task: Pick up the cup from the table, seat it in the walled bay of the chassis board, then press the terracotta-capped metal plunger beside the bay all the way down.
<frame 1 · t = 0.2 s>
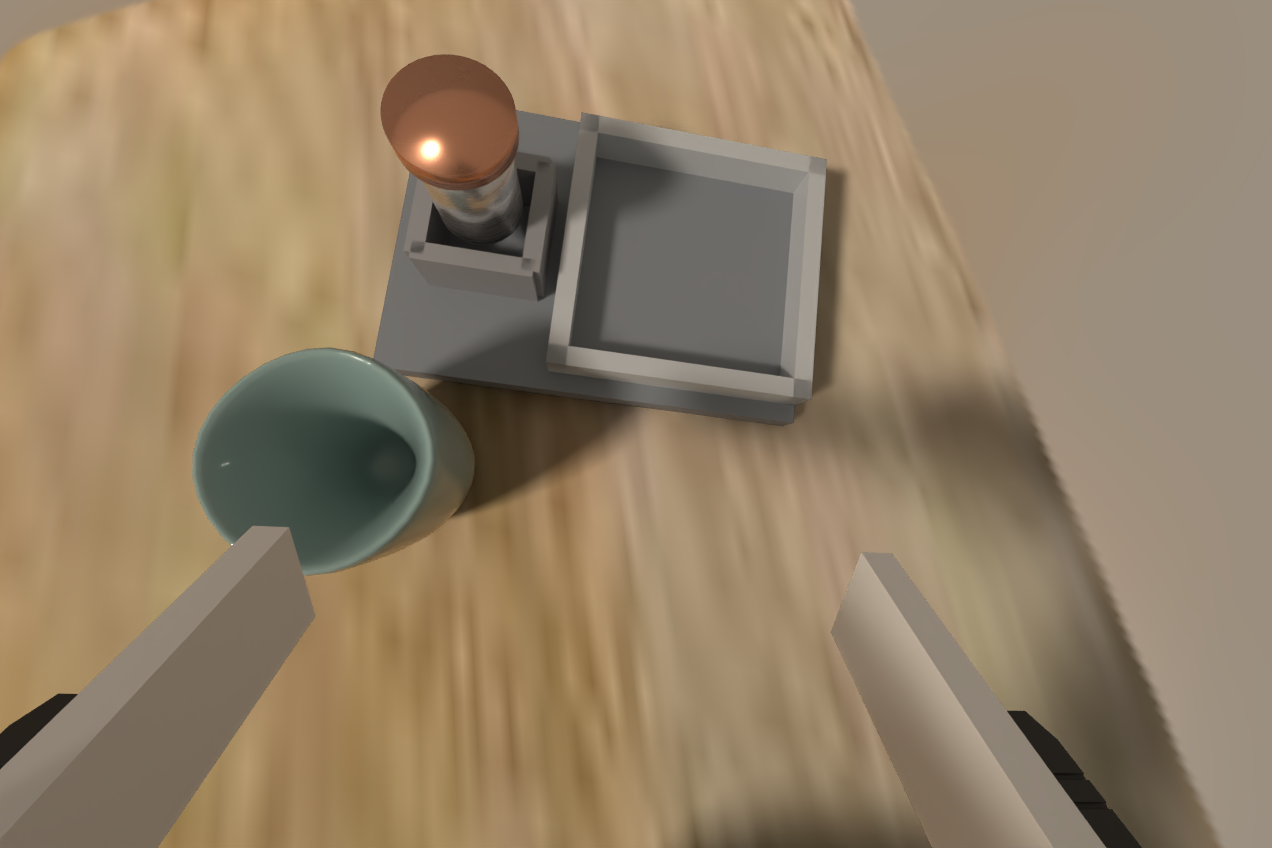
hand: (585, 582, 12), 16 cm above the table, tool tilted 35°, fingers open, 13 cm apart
plunger: (467, 166, 21), point 8 cm above the table, slide at 0.0 cm
chassis: (608, 269, 29), on the table
cup: (415, 468, 27), on the table
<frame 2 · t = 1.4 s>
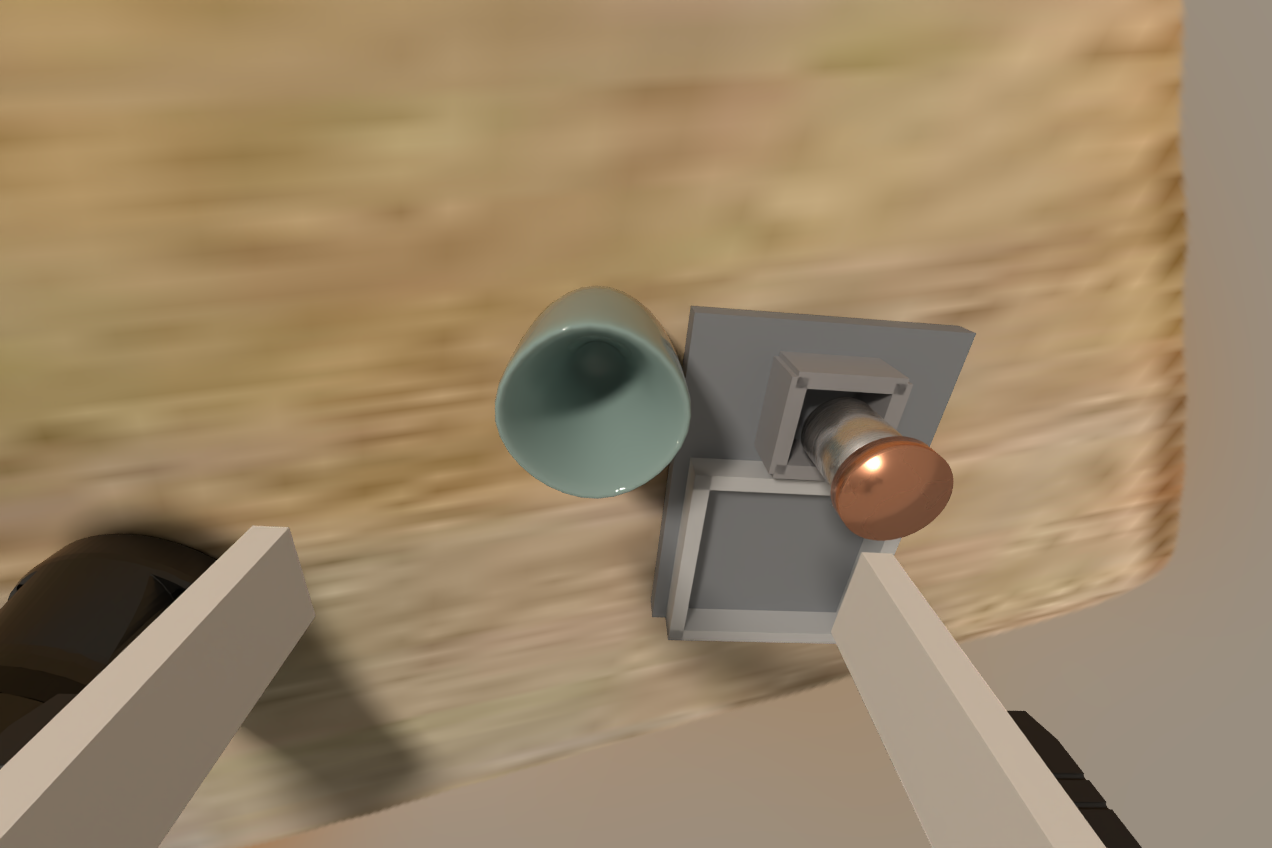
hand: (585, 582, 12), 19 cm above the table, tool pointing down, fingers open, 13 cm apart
plunger: (863, 460, 23), point 8 cm above the table, slide at 0.0 cm
chassis: (783, 482, 33), on the table
cup: (599, 341, 28), on the table
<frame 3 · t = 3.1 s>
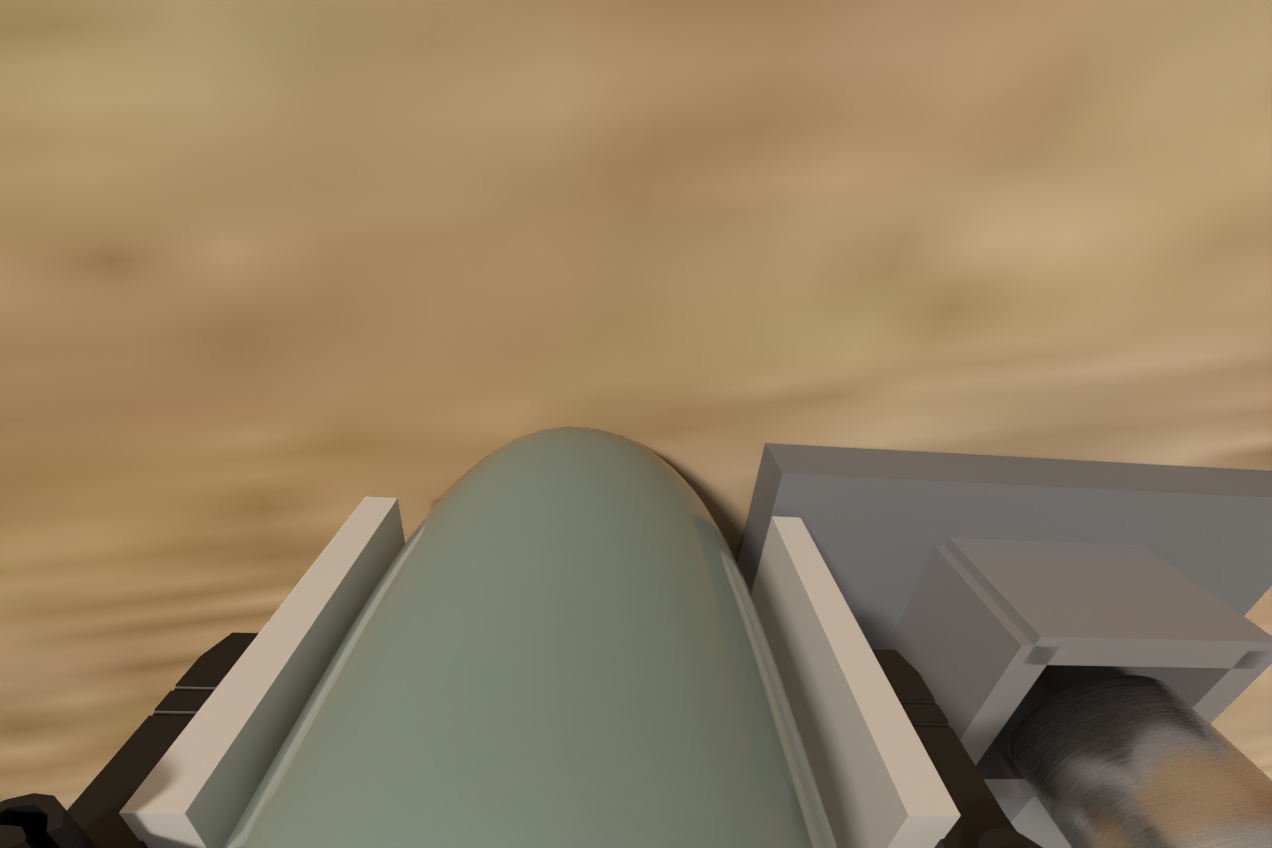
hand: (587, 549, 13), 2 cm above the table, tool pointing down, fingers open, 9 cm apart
chassis: (902, 706, 19), on the table
cup: (580, 504, 14), on the table
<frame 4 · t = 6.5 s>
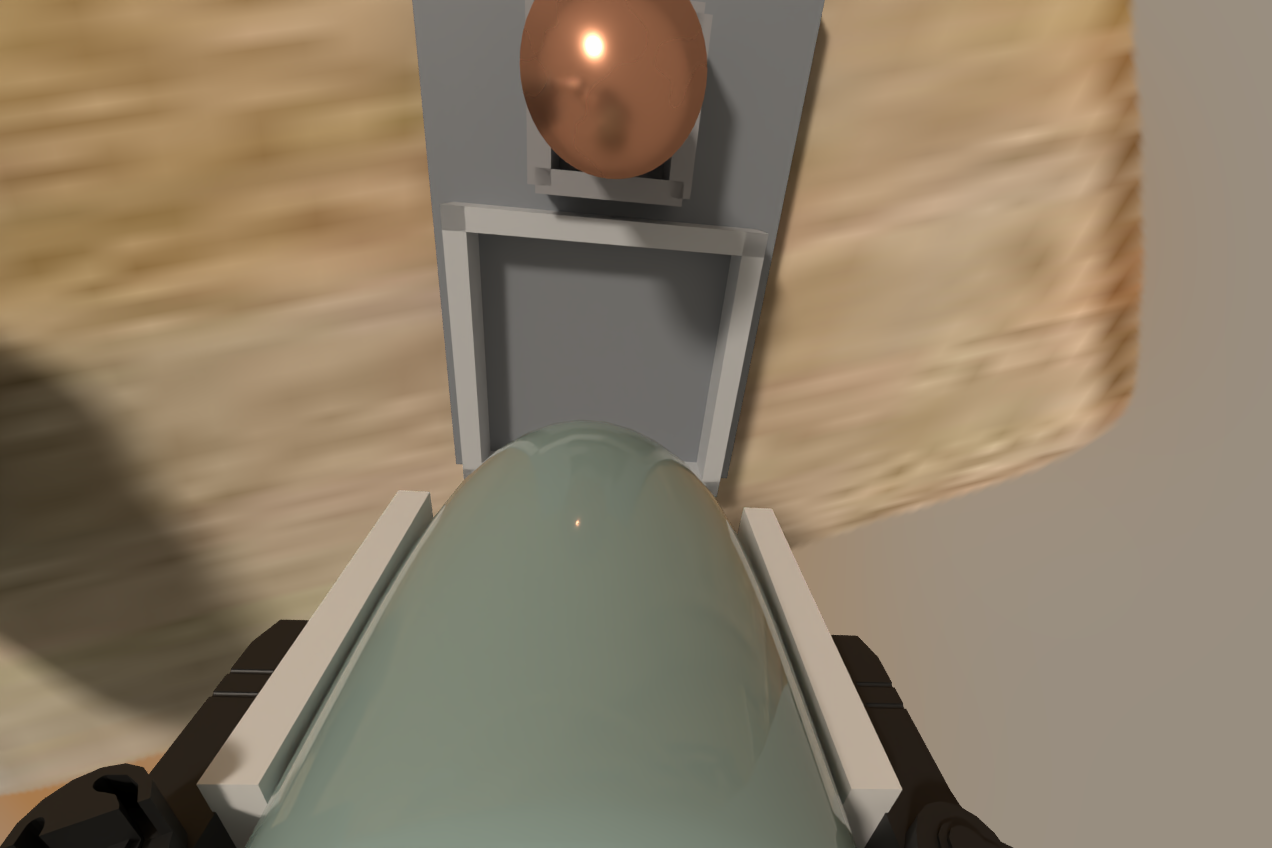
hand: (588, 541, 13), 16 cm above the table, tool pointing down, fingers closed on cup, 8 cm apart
plunger: (614, 92, 15), point 8 cm above the table, slide at 0.0 cm
chassis: (606, 266, 25), on the table
cup: (590, 497, 15), point 14 cm above the table, touching gripper
when the fingers open (5 cm above the table, at t = 8.7 s): cup drops 2 cm, resting on chassis.
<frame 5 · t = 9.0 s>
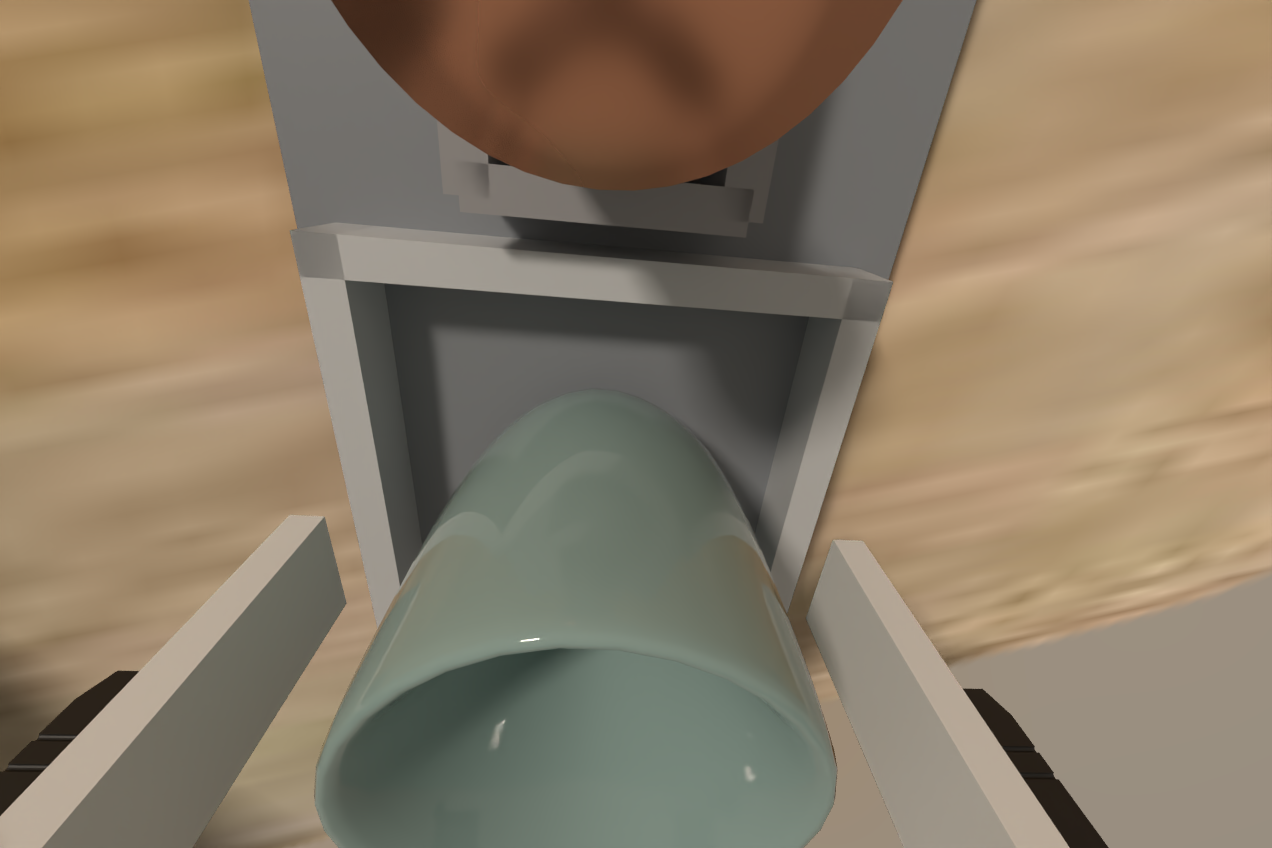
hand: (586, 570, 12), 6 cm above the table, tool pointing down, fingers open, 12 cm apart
chassis: (602, 322, 16), on the table
cup: (601, 463, 16), point 1 cm above the table, touching chassis
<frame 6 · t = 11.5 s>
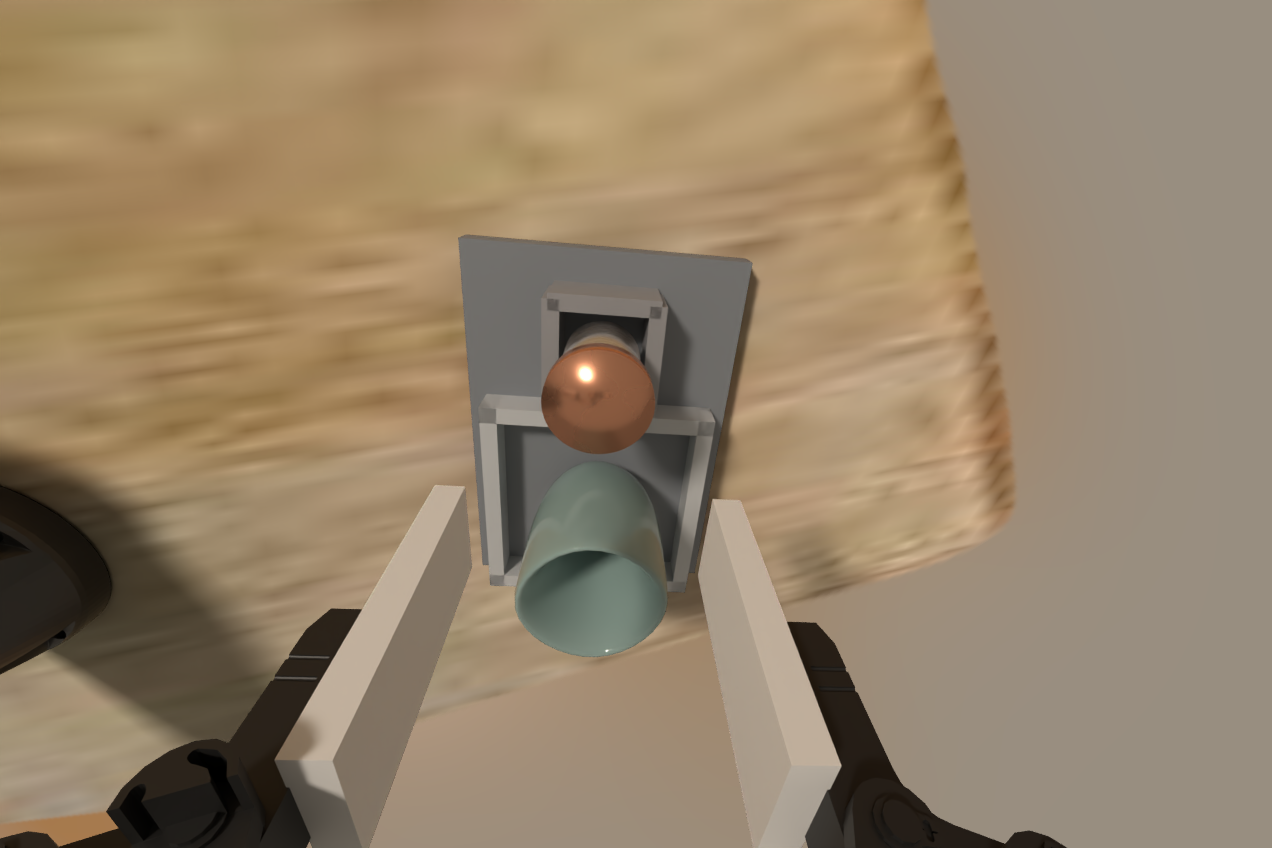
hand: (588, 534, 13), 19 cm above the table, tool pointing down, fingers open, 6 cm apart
plunger: (600, 378, 23), point 8 cm above the table, slide at 0.0 cm
chassis: (598, 425, 33), on the table
cup: (598, 491, 34), point 1 cm above the table, touching chassis
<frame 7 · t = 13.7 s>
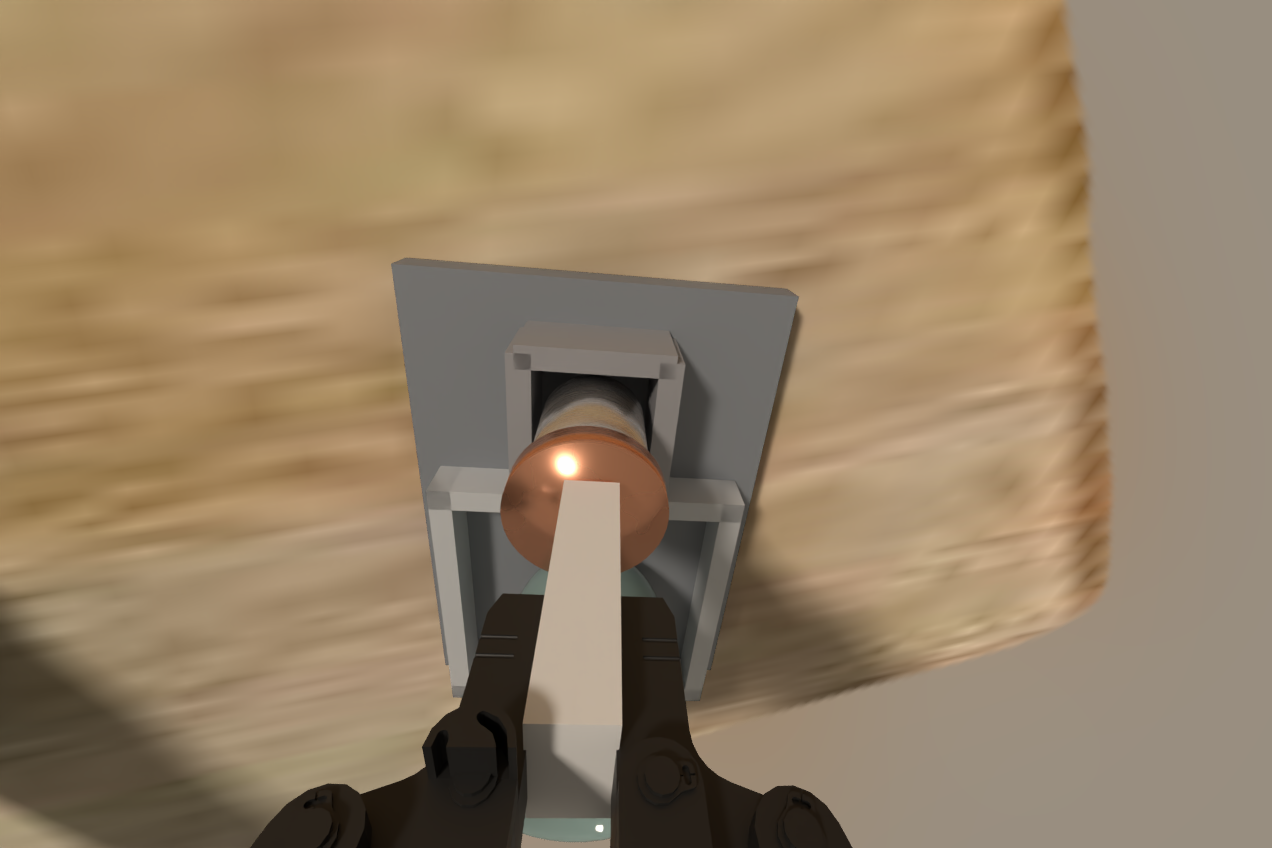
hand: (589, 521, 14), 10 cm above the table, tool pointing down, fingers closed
plunger: (590, 461, 17), point 7 cm above the table, slide at 0.8 cm, touching gripper
chassis: (590, 497, 26), on the table
cup: (590, 579, 27), point 1 cm above the table, touching chassis
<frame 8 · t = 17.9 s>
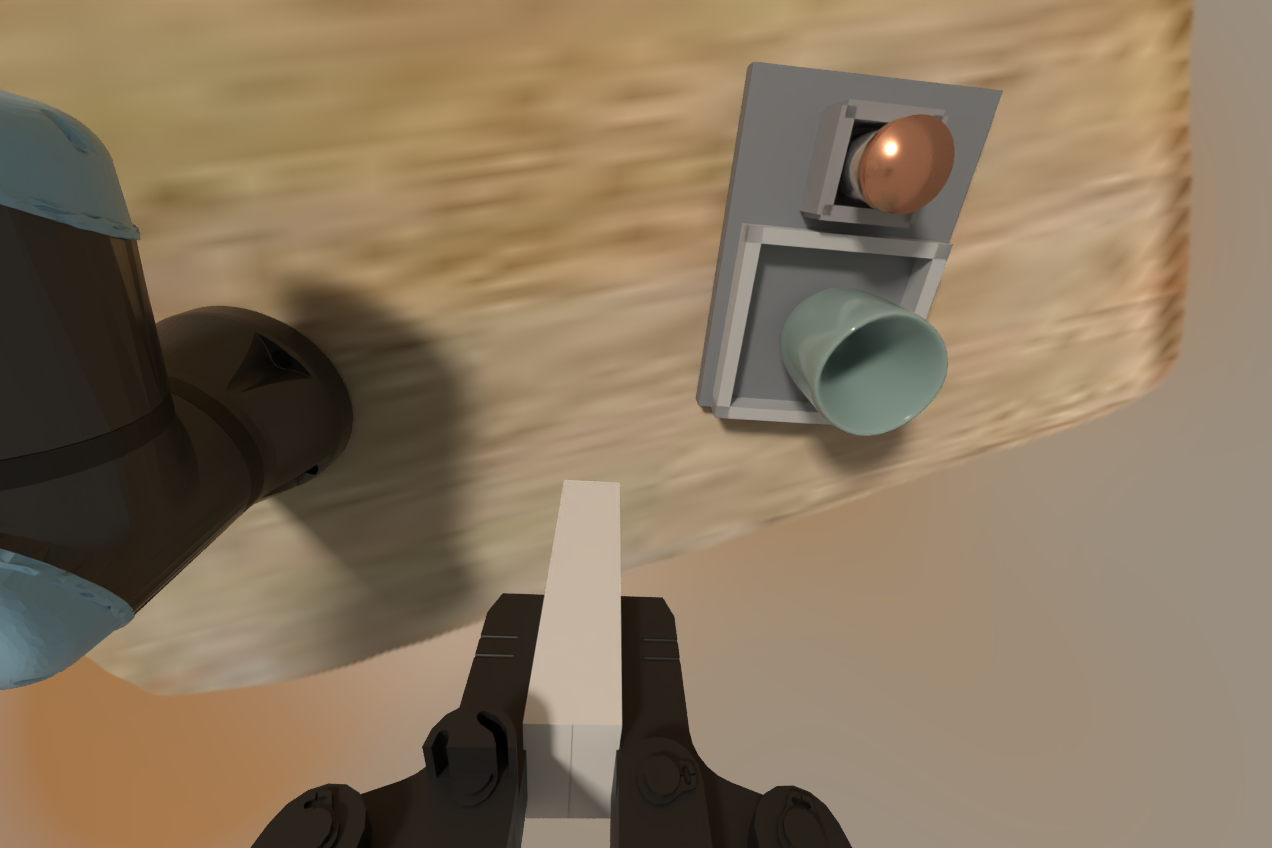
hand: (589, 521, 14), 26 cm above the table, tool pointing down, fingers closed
plunger: (882, 167, 29), point 5 cm above the table, slide at 2.7 cm
chassis: (822, 265, 36), on the table
cup: (817, 328, 37), point 1 cm above the table, touching chassis
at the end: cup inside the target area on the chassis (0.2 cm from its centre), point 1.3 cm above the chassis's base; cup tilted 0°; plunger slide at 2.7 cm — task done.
